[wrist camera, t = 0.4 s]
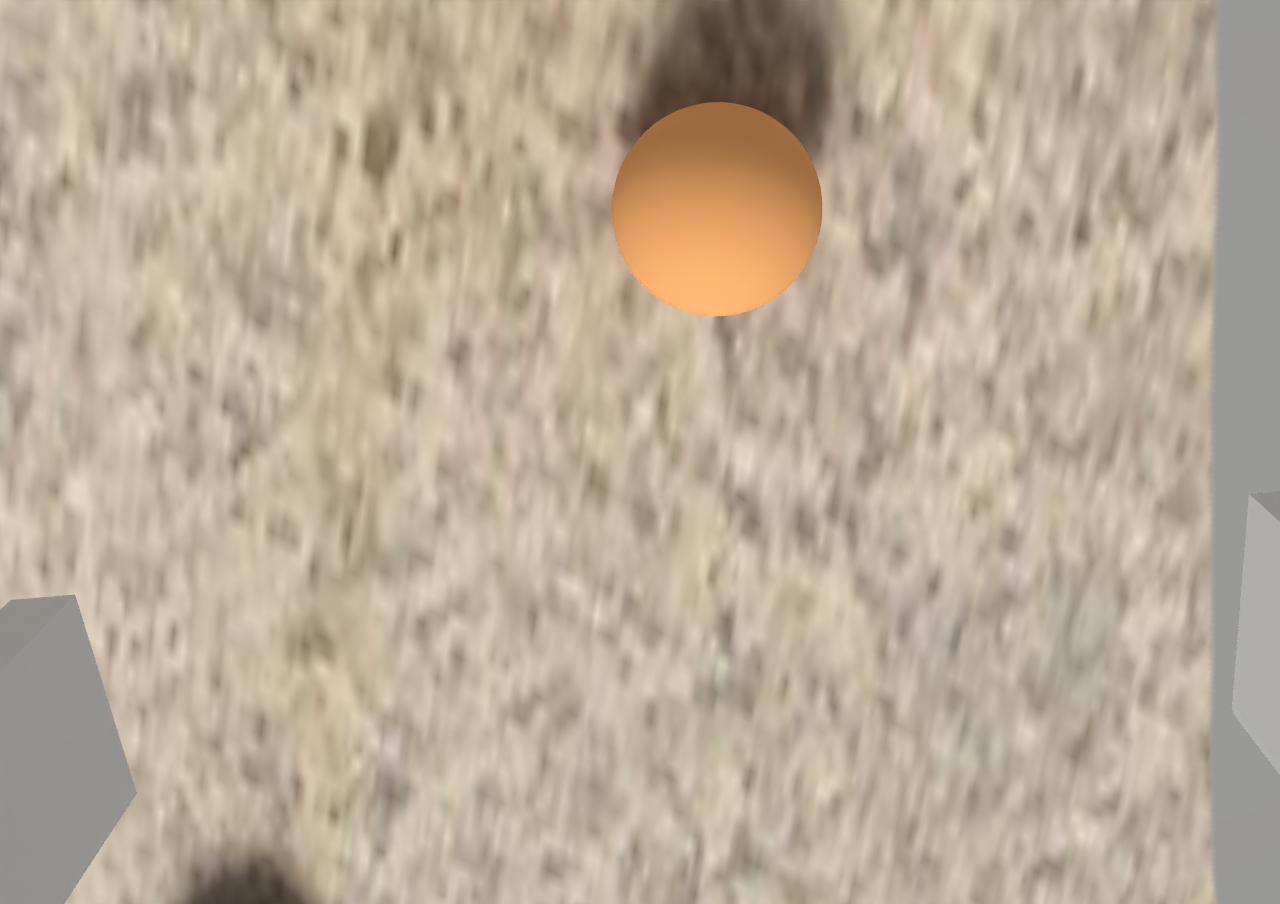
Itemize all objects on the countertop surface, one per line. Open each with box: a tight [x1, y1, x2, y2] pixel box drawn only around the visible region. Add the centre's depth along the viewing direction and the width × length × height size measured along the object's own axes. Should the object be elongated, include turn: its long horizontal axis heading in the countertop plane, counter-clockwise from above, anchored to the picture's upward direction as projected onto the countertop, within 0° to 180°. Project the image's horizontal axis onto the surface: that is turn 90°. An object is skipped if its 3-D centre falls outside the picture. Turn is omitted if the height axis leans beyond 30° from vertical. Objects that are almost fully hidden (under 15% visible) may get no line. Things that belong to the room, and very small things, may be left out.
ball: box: [612, 102, 822, 316], centre depth 35 cm, size 6×6×6 cm
